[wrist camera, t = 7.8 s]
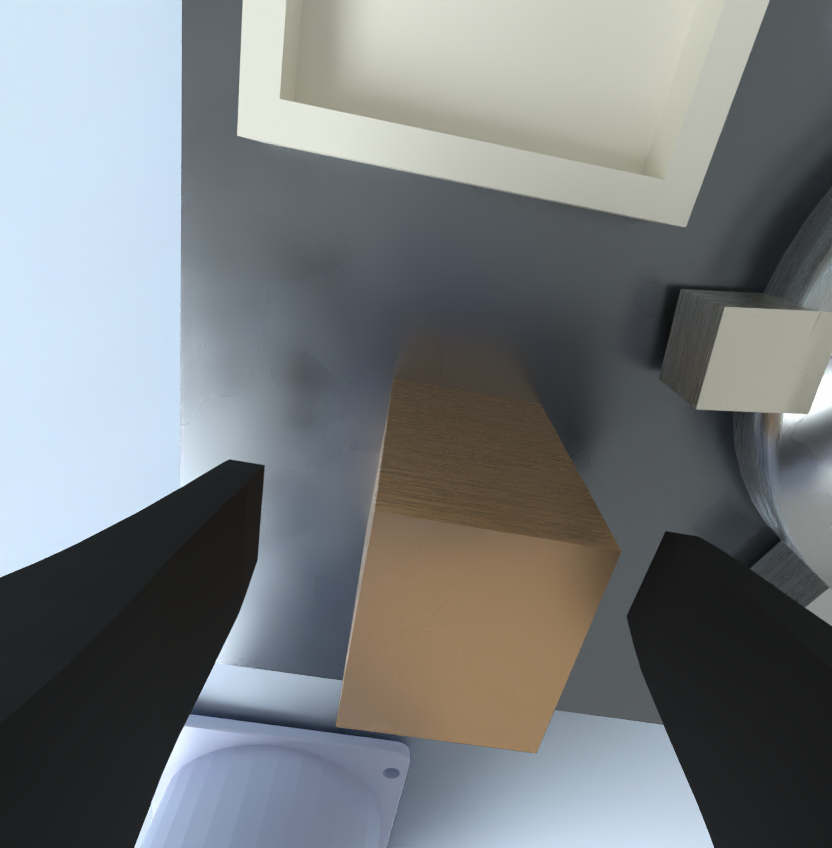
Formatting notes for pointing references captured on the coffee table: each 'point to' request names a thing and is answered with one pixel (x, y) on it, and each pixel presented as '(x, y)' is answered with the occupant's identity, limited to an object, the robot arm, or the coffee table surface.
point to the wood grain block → (472, 573)
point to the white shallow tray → (505, 91)
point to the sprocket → (773, 400)
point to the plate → (468, 336)
